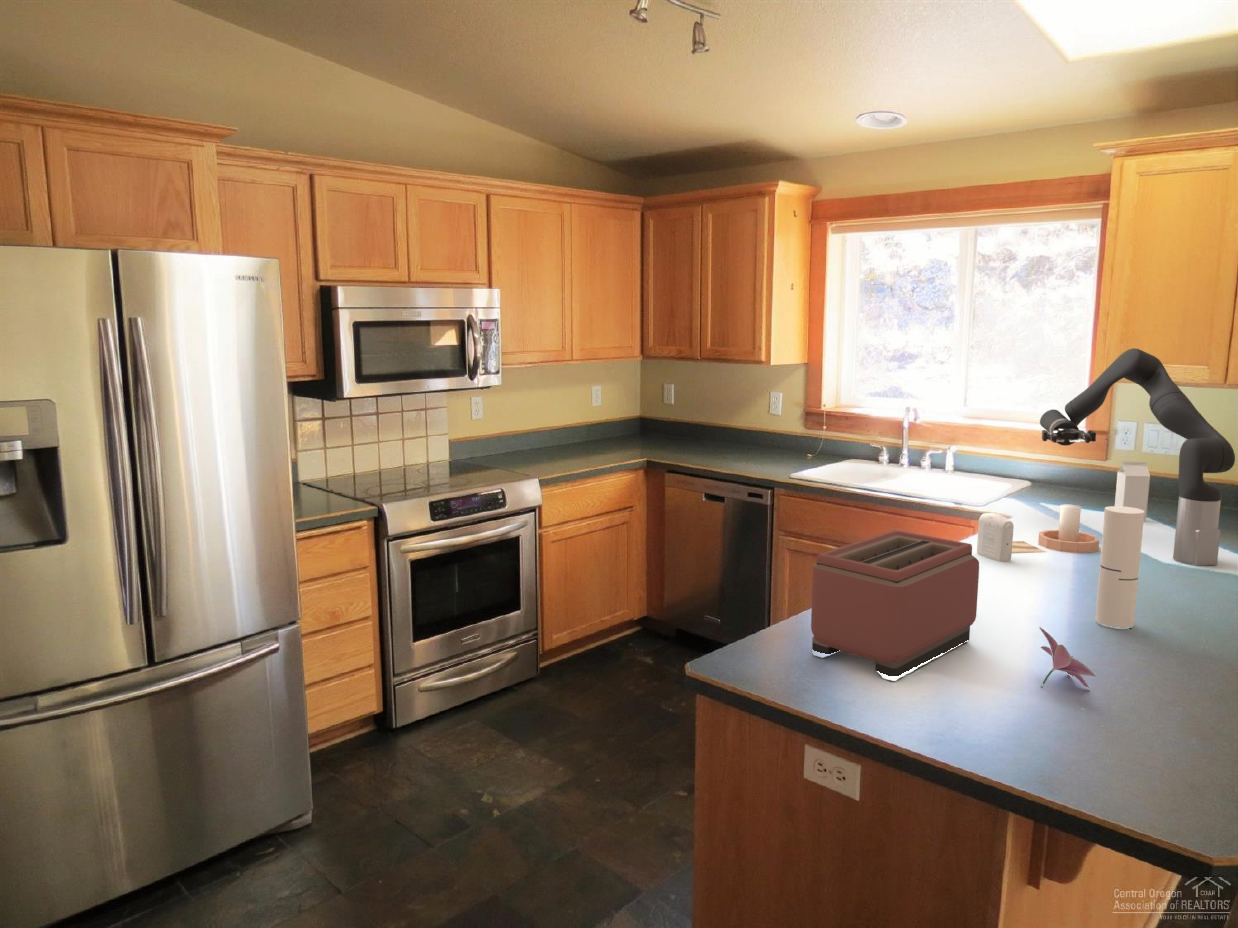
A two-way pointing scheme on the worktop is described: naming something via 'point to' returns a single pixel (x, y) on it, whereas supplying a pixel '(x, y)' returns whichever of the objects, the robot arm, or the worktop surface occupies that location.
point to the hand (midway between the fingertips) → (1071, 439)
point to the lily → (1065, 660)
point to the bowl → (1068, 542)
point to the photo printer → (995, 537)
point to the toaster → (894, 599)
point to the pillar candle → (1069, 522)
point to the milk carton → (1133, 486)
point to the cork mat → (1024, 547)
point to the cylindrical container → (1119, 566)
